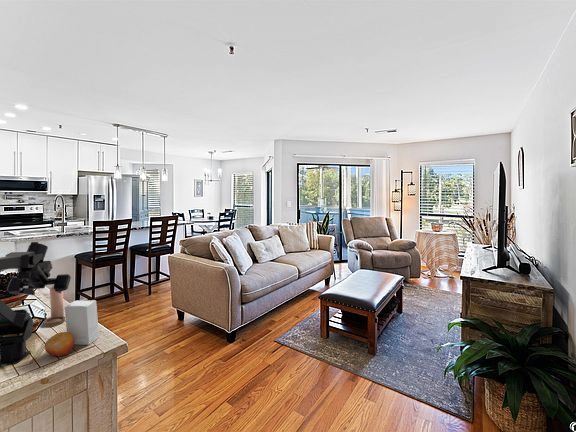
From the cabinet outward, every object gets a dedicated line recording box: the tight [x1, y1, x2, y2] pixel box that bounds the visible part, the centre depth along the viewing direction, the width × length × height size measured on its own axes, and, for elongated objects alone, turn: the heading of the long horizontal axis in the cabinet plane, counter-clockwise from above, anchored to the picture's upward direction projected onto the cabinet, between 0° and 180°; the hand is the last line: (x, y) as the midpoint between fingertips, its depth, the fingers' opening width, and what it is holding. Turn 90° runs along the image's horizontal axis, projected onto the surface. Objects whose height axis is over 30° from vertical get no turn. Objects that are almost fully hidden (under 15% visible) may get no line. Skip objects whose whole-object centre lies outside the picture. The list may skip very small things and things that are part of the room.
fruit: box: [44, 331, 74, 357], centre depth 101 cm, size 8×8×8 cm
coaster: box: [43, 315, 66, 327], centre depth 123 cm, size 7×7×1 cm
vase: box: [49, 284, 65, 318], centre depth 128 cm, size 4×4×14 cm
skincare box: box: [64, 299, 100, 346], centre depth 108 cm, size 8×6×15 cm
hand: (47, 293), depth 120 cm, fingers open, 9 cm apart
